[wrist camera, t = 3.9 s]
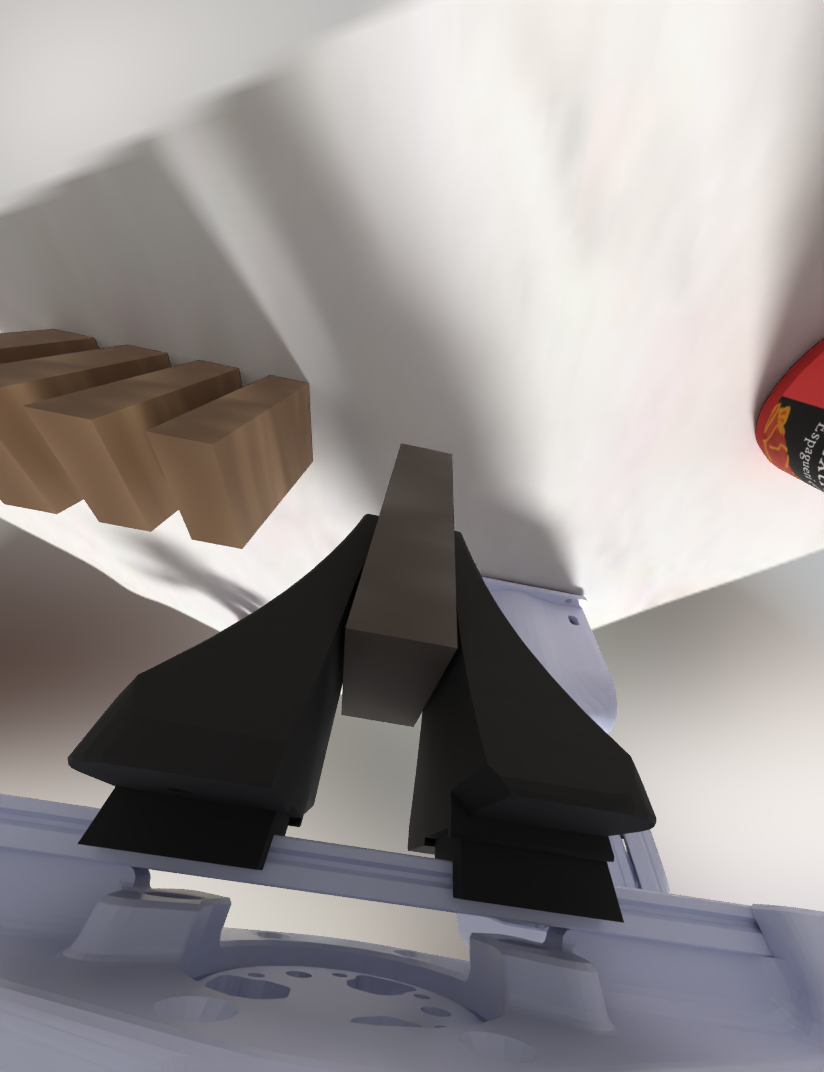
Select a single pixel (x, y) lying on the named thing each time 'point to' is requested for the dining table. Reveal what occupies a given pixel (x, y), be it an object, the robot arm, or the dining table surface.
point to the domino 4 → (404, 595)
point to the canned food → (797, 420)
